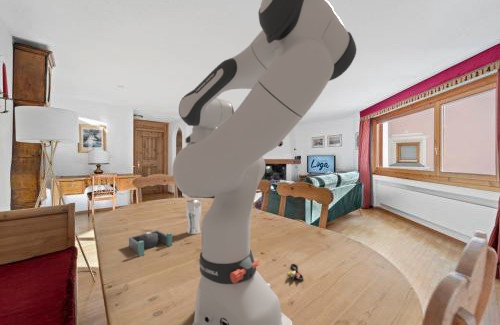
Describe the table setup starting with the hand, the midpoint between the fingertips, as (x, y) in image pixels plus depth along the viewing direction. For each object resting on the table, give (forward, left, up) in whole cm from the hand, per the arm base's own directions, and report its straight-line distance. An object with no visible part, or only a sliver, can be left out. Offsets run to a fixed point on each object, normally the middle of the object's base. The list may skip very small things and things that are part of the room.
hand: (204, 174), depth 80 cm
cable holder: (+20, +12, -29) cm, 38 cm away
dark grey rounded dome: (+21, +12, -29) cm, 38 cm away
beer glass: (+20, -8, -29) cm, 36 cm away
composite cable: (-34, -9, -30) cm, 46 cm away
